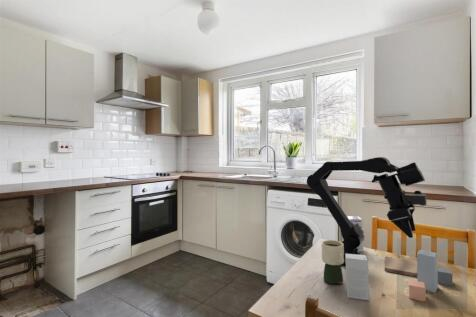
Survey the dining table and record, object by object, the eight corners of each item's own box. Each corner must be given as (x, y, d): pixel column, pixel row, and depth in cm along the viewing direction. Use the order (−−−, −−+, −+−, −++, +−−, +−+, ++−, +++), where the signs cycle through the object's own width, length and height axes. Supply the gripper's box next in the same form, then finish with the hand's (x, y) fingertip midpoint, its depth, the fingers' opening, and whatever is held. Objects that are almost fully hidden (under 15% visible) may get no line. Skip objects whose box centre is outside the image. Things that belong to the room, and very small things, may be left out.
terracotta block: (409, 298, 76) (408, 284, 76) (408, 292, 79) (408, 279, 79) (425, 302, 74) (425, 288, 74) (424, 295, 77) (423, 282, 77)
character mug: (353, 287, 82) (352, 247, 82) (333, 290, 81) (333, 249, 81) (332, 273, 93) (332, 237, 93) (315, 275, 91) (314, 239, 91)
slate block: (417, 287, 82) (416, 253, 82) (420, 282, 85) (420, 249, 85) (435, 292, 78) (434, 257, 78) (437, 287, 81) (437, 253, 81)
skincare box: (367, 293, 78) (366, 255, 78) (369, 301, 74) (368, 260, 74) (345, 290, 80) (345, 252, 80) (346, 297, 76) (346, 258, 76)
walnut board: (384, 270, 94) (384, 267, 94) (385, 259, 104) (385, 256, 104) (425, 278, 88) (425, 274, 88) (421, 265, 98) (421, 262, 98)
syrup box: (363, 251, 113) (363, 219, 113) (349, 251, 114) (349, 218, 114) (360, 247, 118) (359, 216, 118) (346, 246, 119) (346, 215, 119)
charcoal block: (437, 283, 84) (436, 271, 84) (435, 278, 88) (434, 266, 88) (452, 286, 82) (452, 273, 82) (450, 280, 86) (449, 269, 86)
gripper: (415, 185, 78) (440, 236, 75) (419, 180, 93) (441, 222, 89) (377, 196, 85) (399, 243, 81) (387, 190, 99) (406, 229, 96)
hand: (412, 234), depth 87 cm, fingers open, 9 cm apart
